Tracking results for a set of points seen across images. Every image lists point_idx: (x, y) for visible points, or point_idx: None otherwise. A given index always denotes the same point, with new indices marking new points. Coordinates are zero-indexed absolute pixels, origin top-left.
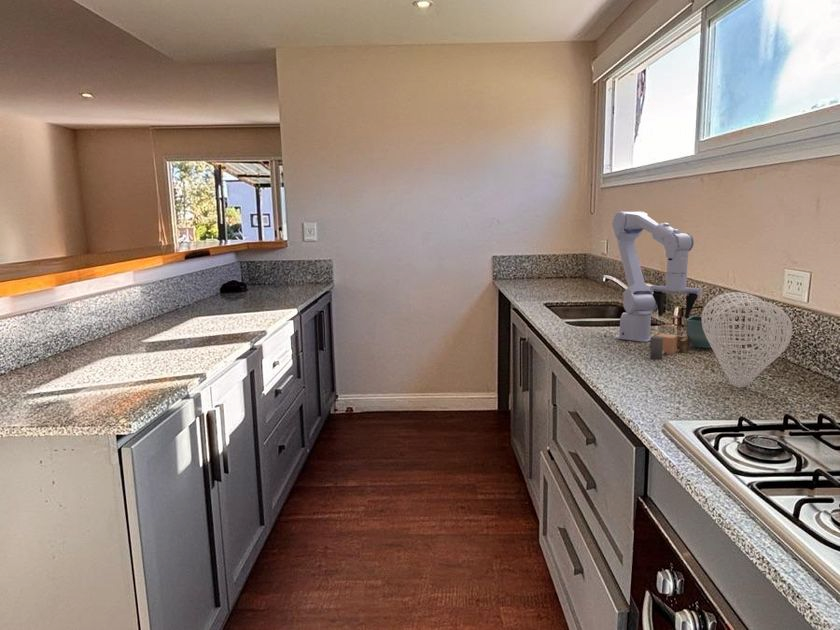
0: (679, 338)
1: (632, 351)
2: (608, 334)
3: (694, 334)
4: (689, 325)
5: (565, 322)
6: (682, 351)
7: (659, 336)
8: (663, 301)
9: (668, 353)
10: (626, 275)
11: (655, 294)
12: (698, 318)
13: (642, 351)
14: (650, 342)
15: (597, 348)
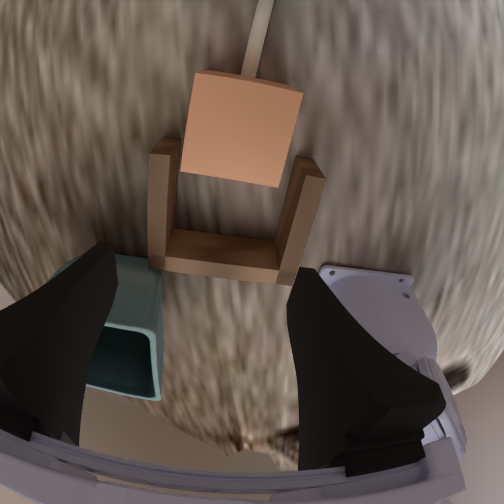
0: (191, 254)
1: (383, 69)
2: None
3: (128, 277)
4: (141, 307)
5: (467, 378)
6: (166, 138)
7: (281, 91)
8: (299, 404)
9: (223, 72)
10: None
11: (429, 406)
12: (136, 389)
13: (343, 82)
14: (318, 169)
15: (492, 97)
